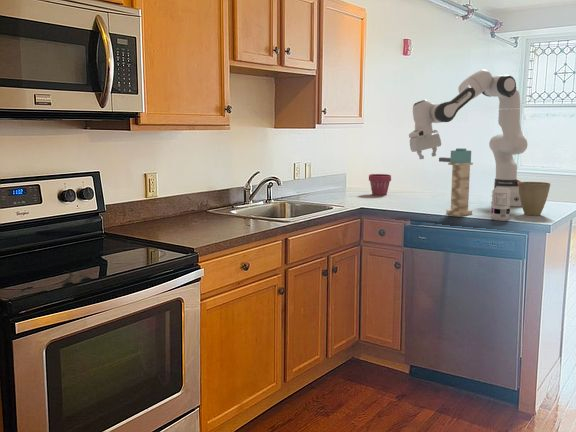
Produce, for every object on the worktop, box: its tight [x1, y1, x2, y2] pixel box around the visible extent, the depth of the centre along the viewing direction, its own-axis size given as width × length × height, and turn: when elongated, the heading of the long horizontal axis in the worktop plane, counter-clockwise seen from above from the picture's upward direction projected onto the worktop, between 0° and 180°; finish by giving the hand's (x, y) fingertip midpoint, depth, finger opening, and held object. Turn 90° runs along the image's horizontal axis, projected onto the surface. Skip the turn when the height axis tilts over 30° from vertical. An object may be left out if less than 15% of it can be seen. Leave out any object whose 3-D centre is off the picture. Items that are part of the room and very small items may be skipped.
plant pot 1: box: [368, 173, 392, 197], centre depth 372 cm, size 14×14×13 cm
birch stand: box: [445, 162, 474, 217], centre depth 293 cm, size 9×9×26 cm
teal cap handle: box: [438, 147, 472, 163], centre depth 295 cm, size 16×7×7 cm, turn 35°
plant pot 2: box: [518, 181, 551, 216], centre depth 292 cm, size 15×15×16 cm
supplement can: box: [490, 187, 511, 221], centre depth 278 cm, size 8×8×15 cm
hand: (427, 157), depth 309 cm, fingers open, 8 cm apart
